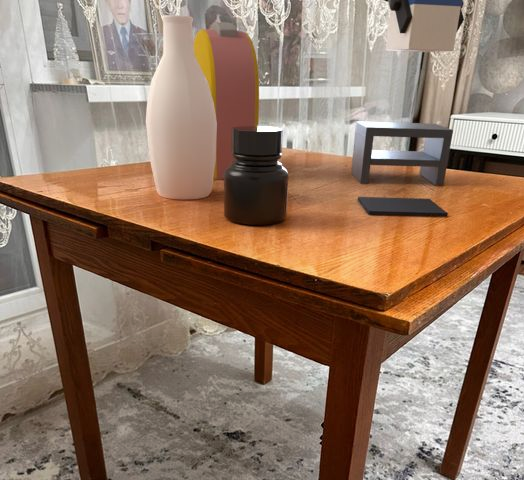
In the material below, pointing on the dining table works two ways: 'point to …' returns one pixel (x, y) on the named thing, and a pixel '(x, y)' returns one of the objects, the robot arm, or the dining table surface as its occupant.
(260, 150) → the ink bottle
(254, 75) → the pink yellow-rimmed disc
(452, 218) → the dining table surface
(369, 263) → the dining table surface
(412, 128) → the shelf
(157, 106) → the bottle
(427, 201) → the mat
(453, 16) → the box
